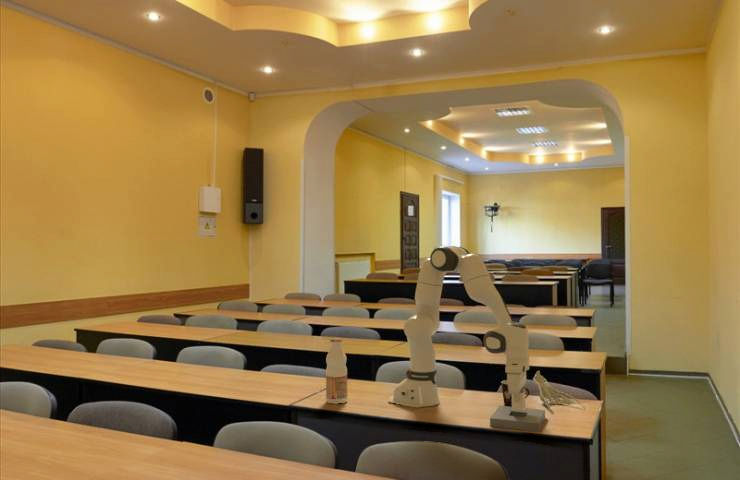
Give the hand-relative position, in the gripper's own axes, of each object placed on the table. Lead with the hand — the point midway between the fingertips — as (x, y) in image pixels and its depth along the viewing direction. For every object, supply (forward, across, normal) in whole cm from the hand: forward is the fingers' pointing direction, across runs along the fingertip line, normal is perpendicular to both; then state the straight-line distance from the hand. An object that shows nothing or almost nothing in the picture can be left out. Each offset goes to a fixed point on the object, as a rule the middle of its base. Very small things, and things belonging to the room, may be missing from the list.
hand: (518, 400), depth 223 cm
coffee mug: (+9, -20, -5) cm, 22 cm away
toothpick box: (+4, 0, 0) cm, 4 cm away
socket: (+8, 0, 0) cm, 8 cm away
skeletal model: (+9, -30, +9) cm, 32 cm away
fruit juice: (+8, 0, -79) cm, 80 cm away
